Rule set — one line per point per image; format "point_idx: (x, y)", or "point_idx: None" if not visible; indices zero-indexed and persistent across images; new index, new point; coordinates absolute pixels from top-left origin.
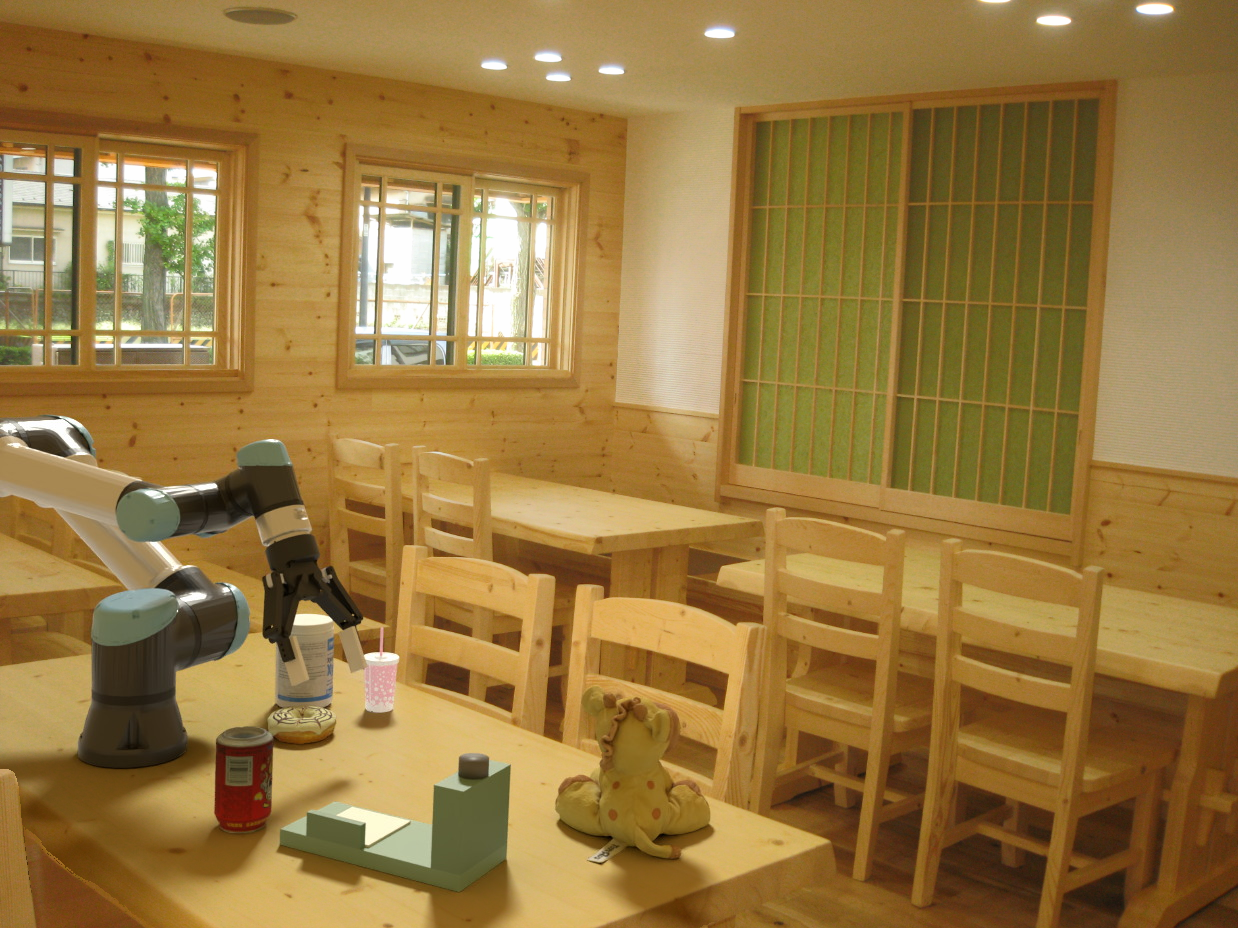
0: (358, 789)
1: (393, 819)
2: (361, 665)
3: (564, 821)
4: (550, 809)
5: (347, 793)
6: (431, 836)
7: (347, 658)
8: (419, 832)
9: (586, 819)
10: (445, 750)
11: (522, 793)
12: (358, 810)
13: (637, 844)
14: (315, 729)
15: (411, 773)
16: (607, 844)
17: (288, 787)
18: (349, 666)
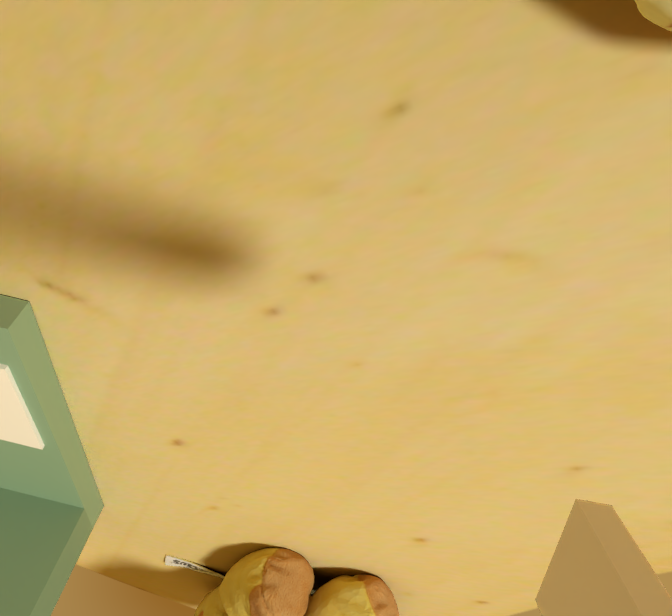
0: (201, 301)
1: (23, 430)
2: (549, 600)
3: (255, 552)
4: (303, 540)
5: (160, 287)
6: (29, 469)
7: (621, 594)
8: (27, 457)
9: (221, 585)
10: (606, 414)
11: (354, 520)
12: (1, 381)
13: (205, 597)
14: (642, 5)
15: (378, 376)
16: (213, 572)
17: (80, 124)
18: (592, 537)
